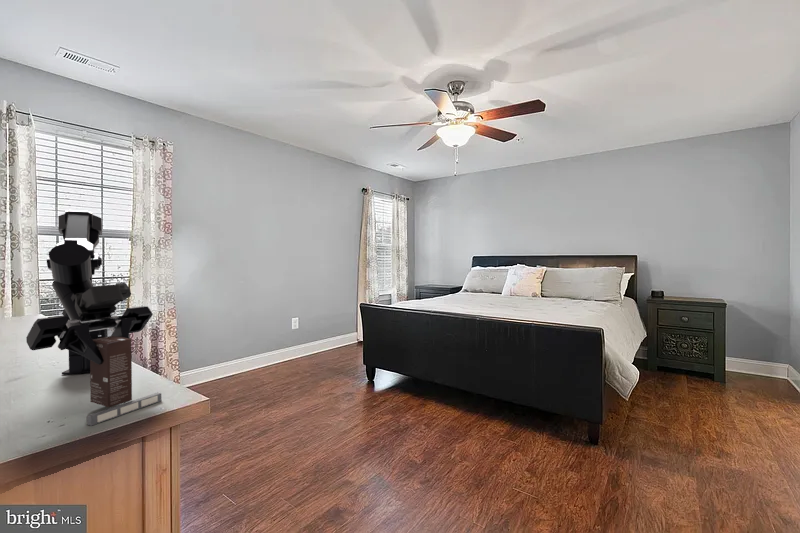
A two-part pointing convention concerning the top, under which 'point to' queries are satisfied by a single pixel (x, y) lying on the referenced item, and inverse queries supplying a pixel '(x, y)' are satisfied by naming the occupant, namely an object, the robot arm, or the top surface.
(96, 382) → the box
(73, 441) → the top surface
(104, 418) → the rail
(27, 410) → the top surface
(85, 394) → the top surface
